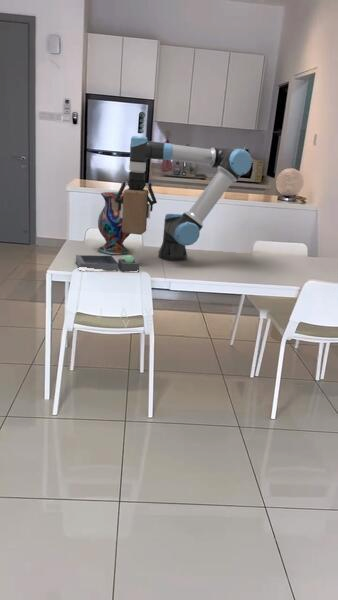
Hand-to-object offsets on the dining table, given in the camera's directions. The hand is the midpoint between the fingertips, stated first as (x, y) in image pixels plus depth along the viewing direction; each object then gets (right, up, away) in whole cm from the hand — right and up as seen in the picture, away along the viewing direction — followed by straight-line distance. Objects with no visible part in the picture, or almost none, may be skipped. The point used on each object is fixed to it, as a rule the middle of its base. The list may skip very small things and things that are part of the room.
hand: (134, 217), depth 230 cm
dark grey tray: (-18, -23, -4) cm, 30 cm away
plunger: (-3, -23, -5) cm, 24 cm away
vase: (-13, -13, +28) cm, 34 cm away
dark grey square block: (-3, -25, -4) cm, 25 cm away
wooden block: (-1, -7, +2) cm, 7 cm away
